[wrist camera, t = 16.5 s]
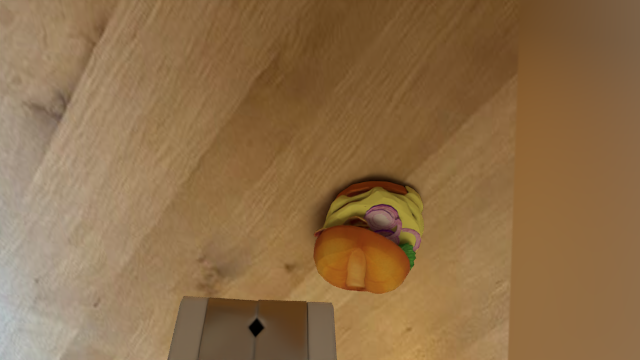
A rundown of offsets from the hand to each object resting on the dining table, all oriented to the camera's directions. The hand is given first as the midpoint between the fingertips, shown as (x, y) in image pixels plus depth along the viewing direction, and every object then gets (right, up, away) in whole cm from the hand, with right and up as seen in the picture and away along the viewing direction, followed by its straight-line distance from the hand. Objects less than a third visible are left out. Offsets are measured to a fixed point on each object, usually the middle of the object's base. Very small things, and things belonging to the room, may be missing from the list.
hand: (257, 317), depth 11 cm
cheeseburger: (+6, -1, +45) cm, 46 cm away
